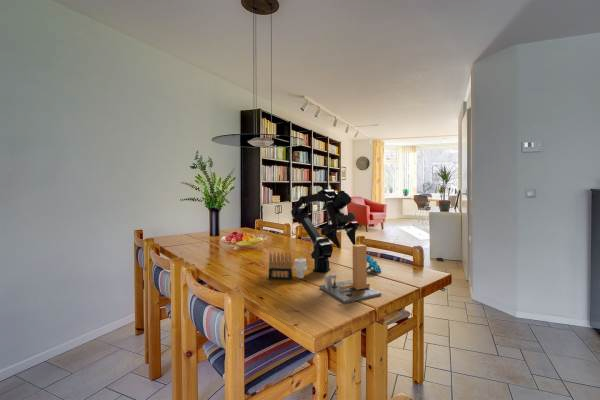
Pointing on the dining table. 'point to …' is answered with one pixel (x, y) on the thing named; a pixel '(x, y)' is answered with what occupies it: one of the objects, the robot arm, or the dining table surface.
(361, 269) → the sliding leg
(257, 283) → the dining table surface
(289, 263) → the ammunition clip
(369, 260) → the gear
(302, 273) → the pipe fitting
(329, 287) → the plate
